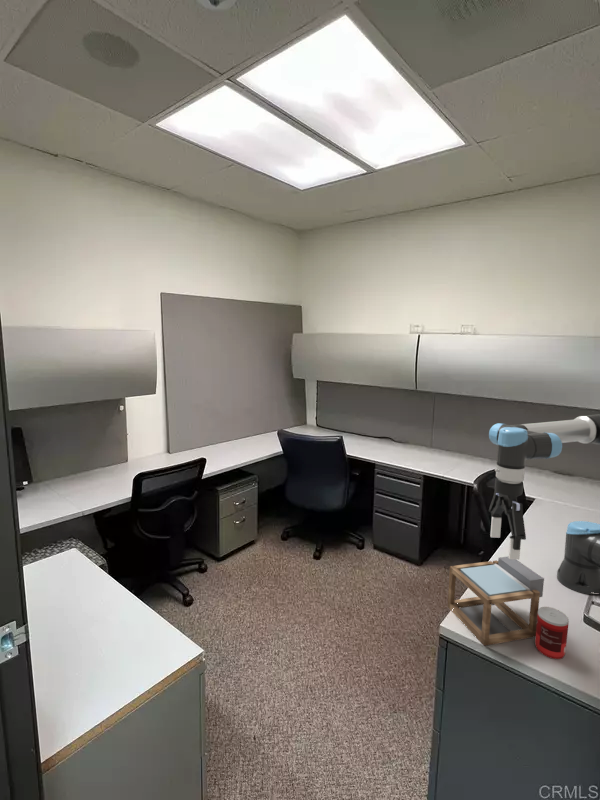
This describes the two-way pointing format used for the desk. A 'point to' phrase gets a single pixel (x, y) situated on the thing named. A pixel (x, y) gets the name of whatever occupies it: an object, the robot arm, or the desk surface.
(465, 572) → the trapdoor
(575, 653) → the desk surface
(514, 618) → the frame
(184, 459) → the desk surface
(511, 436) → the robot arm
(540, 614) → the canned food
